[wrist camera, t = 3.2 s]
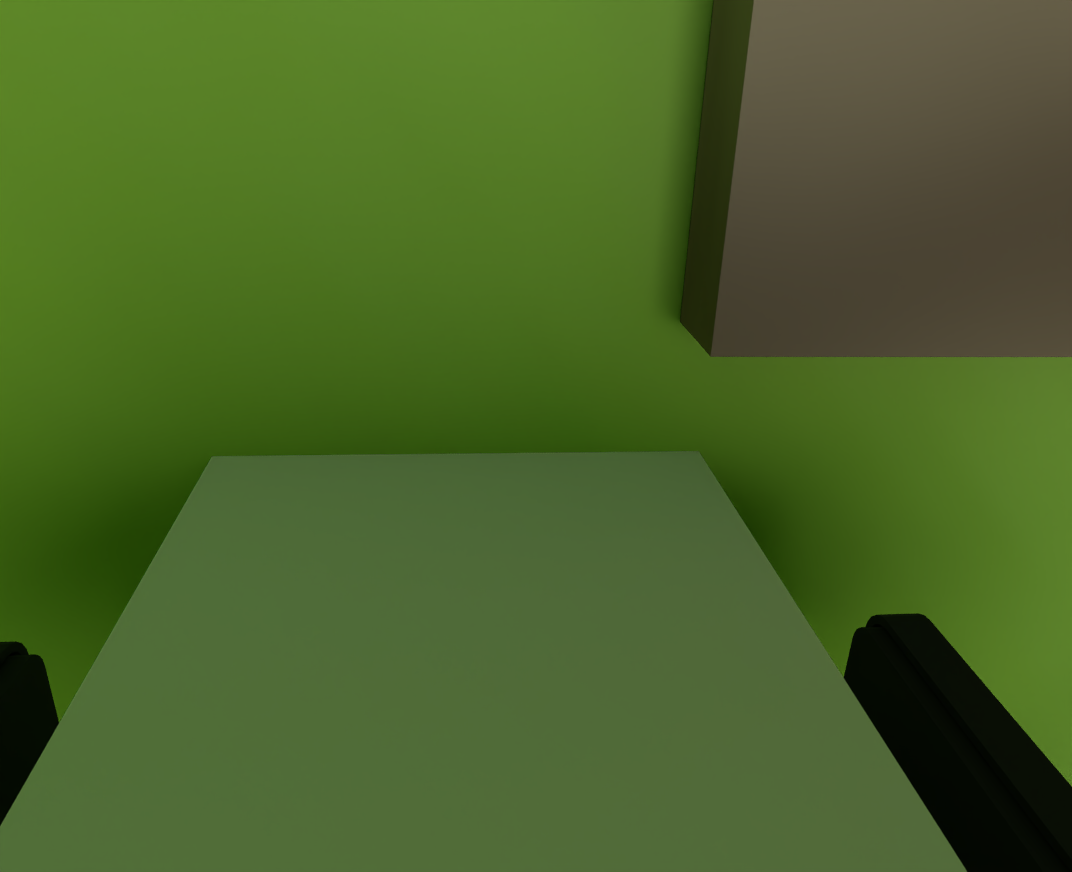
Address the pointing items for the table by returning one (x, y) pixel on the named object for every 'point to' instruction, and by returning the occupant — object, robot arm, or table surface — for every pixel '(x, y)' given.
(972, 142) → the shelf
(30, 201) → the table surface
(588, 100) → the table surface
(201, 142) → the table surface
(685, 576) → the plain rectangular box
